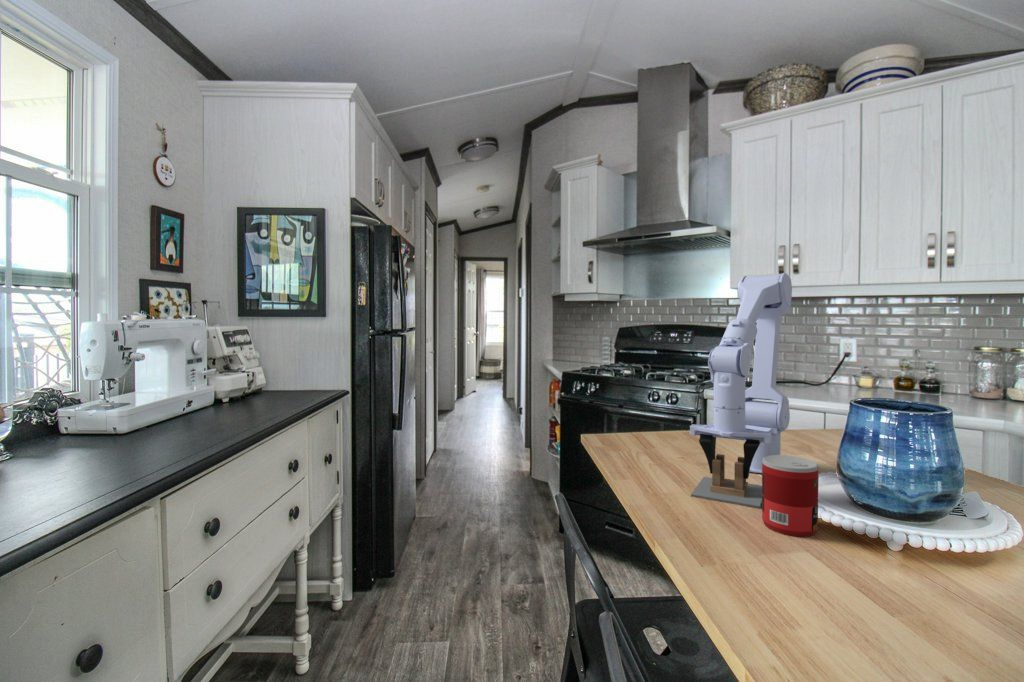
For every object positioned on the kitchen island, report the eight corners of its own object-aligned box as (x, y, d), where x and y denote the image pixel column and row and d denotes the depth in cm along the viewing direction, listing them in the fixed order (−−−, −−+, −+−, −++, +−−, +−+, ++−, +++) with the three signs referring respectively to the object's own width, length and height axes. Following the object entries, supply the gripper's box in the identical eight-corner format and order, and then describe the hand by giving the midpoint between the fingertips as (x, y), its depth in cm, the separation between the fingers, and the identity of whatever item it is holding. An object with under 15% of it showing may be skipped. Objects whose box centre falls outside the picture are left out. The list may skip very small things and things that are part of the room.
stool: (715, 482, 99) (715, 453, 99) (747, 487, 96) (748, 457, 96) (710, 491, 94) (710, 460, 94) (744, 497, 91) (744, 465, 91)
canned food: (826, 539, 74) (827, 469, 74) (770, 535, 76) (770, 467, 75) (806, 519, 82) (807, 455, 81) (756, 516, 83) (756, 453, 83)
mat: (703, 478, 103) (703, 476, 103) (766, 488, 97) (766, 486, 97) (690, 496, 93) (690, 494, 93) (759, 508, 87) (759, 506, 87)
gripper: (686, 407, 95) (686, 474, 95) (768, 413, 87) (768, 487, 87) (694, 401, 101) (694, 465, 101) (772, 407, 93) (772, 476, 93)
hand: (729, 474), depth 95 cm, fingers closed on stool, 5 cm apart
